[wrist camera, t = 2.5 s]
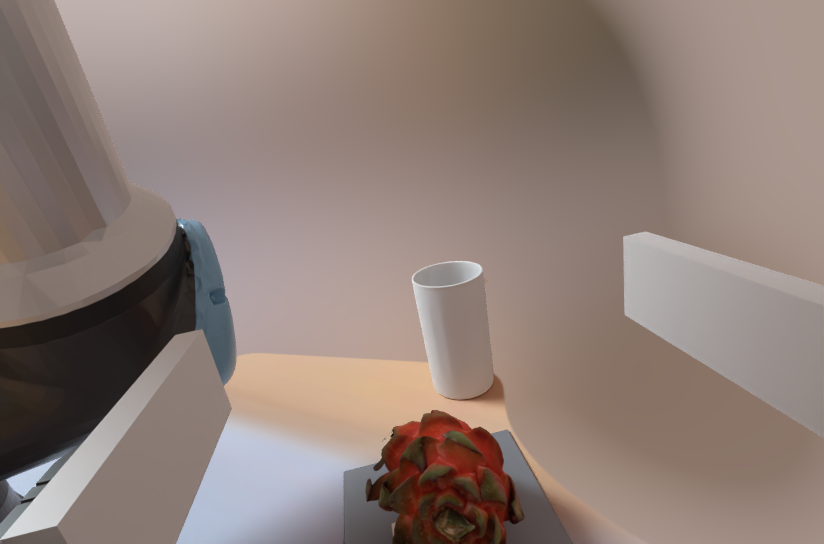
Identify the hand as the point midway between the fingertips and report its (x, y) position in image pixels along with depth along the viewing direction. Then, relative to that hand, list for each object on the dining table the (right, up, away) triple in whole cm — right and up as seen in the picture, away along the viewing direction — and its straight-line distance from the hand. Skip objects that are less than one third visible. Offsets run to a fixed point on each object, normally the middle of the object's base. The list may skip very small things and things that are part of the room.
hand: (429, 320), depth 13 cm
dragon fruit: (+2, -15, +16) cm, 22 cm away
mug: (+4, -10, +32) cm, 34 cm away
